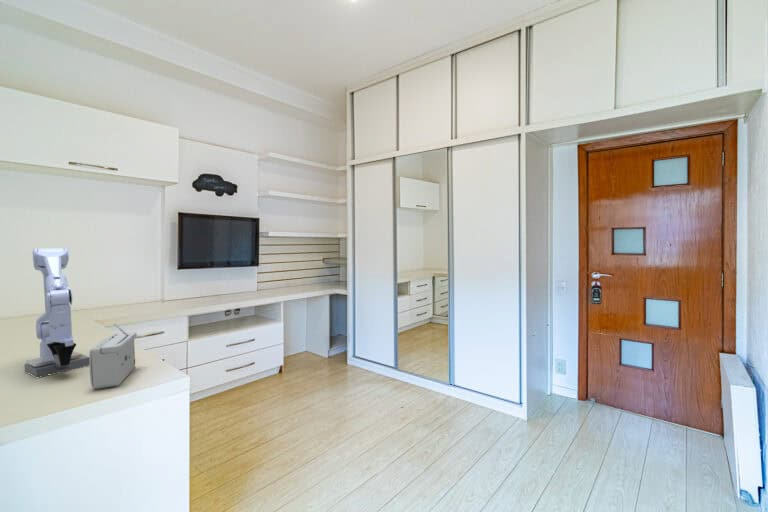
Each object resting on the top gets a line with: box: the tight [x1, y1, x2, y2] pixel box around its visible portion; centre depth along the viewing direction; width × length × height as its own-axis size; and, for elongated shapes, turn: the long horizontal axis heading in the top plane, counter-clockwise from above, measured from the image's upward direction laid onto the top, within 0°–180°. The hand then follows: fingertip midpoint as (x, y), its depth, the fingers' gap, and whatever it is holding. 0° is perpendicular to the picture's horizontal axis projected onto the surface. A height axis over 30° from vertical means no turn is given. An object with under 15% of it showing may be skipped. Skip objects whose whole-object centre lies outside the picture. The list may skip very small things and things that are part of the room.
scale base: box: [24, 353, 89, 378], centre depth 135 cm, size 12×15×3 cm
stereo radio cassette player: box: [88, 323, 138, 390], centre depth 124 cm, size 21×8×20 cm, turn 21°
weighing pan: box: [26, 350, 82, 367], centre depth 134 cm, size 8×13×1 cm, turn 148°
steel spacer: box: [54, 354, 70, 370], centre depth 127 cm, size 4×4×5 cm
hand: (62, 363), depth 127 cm, fingers closed on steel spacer, 4 cm apart
